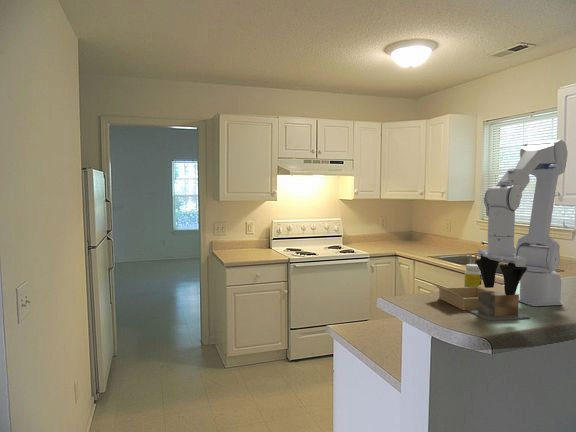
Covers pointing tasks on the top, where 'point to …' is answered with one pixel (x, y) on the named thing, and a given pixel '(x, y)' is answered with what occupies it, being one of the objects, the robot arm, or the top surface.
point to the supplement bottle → (472, 276)
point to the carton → (465, 295)
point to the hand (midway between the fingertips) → (499, 291)
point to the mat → (495, 318)
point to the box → (498, 303)
